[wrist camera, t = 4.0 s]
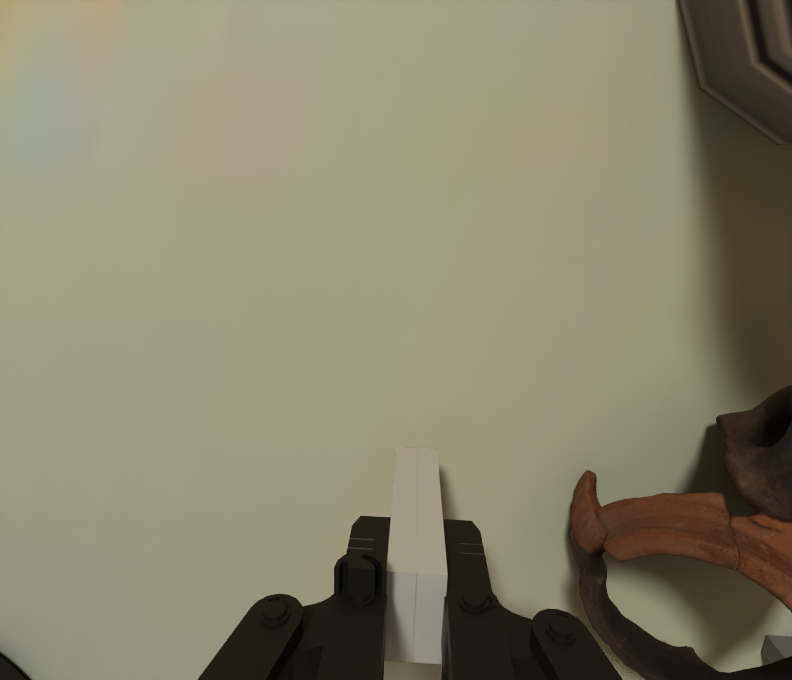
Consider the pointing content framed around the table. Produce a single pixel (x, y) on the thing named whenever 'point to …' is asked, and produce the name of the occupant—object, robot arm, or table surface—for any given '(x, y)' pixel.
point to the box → (777, 648)
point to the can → (745, 59)
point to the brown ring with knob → (696, 539)
